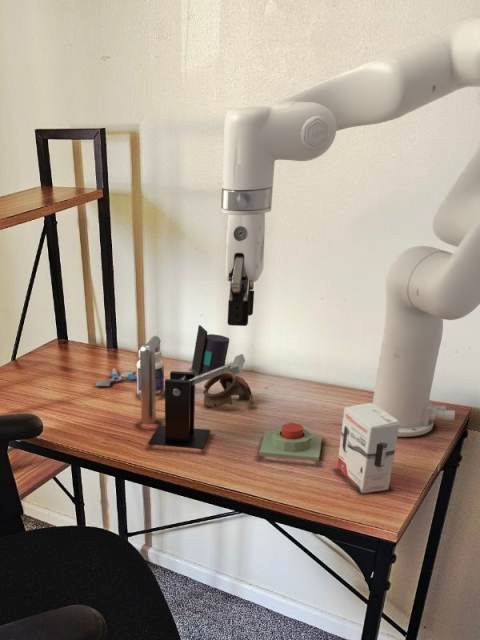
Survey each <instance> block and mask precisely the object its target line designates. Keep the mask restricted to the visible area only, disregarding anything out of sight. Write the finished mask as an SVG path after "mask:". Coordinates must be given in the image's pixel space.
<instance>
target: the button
mask: <svg viewBox="0 0 480 640" xmlns="http://www.w3.org/2000/svg"><path fill="white" fill-rule="evenodd" d="M281 427H282V434H281V436H282V437H283V438H286V439H294V440H295V439H301V438H302V437H303V429H304V426H303V425H301V424H299V423H295V422H287V423H284V424H283V425H281Z"/></svg>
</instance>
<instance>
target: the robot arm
mask: <svg viewBox="0 0 480 640" xmlns="http://www.w3.org/2000/svg"><path fill="white" fill-rule="evenodd" d="M471 87H472V88H478V96H477V98H478V106H479V107H480V16H477V17H469V18H466V19H462V20H459V21H456V22H453V23H451V24H449V25H447V26H445V27H443V28H440V29H438V30H436V31H435V32H433V33H430V34H428V35H426V36H424V37H421V38H420V39H418V40H416V41H414V42H412V43H409V44H408V45H405V46H404V47H400V48H399V49H396V50H394V51H392V52H390V53H388V54H386V55H383V56H382V57H379V58H376V59H374V60H371V61H368V62H366V63H363V64H361V65H359V66H356V67H354V68H352V69H350V70H347V71H345V72H343V73H339V74H337V75H334V76H332V77H329V78H327V79H325V80H322V81H319V82H317V83H315V84H312V85H310V86H307V87H306V88H304V89H302V90H300V91H297V92H295V93H293V94H291V95H289V96H287V97H285V98H283V99H281V100H278V101H277V102H275V103H274V104H273V105H271V106H249V107H248V106H245V107H237V108H233V109H229V111H228V112H227V113H226V115H225V117H224V123H223V144H222V145H223V146H222V147H223V148H222V171H221V172H222V174H221V175H222V176H221V177H222V178H221V202H220V203H221V204H220V205H221V206H220V213H221V214H226V215H227V227H226V243H225V244H226V245H225V280H227V281H228V282H230V284H229V285H230V286H229V294H228V295H229V297H228V302H227V303H228V304H227V305H228V306H227V325H228V326H236V327H246V326H248V325H249V316H250V317H251V316H252V315H253V314H254V304H255V303H254V302H255V301H254V300H255V290H254V287H255V285H254V284H255V283H256V282H257V281H258V280H259V279H260V277H261V275H262V273H263V272H264V266H265V265H264V264H265V263H264V262H265V237H266V235H265V234H266V214H267V213H269V212H272V206H273V190H274V187H273V186H274V175H275V161H277V160H278V161H279V160H280V161H295V162H309V161H312V160H315V159H317V158H320V157H321V156H322V155H324V154H325V153H326V152H327V151H328V150H329V149H330V148H331V147H332V145H333V143H334V141H335V138H336V136H337V132H338V131H342V130H345V129H346V130H347V129H349V128H353V127H354V128H355V127H362V126H370V125H371V126H372V125H377V124H382V123H386V122H390V121H393V120H396V119H400V118H401V117H403V116H406V115H408V114H410V113H412V112H414V111H417V109H420V108H422V107H424V106H426V105H428V104H430V103H433V102H435V101H437V100H439V99H441V98H444V97H445V96H448V95H450V94H452V93H454V92H456V91H459V90H462V89H464V88H471ZM432 218H433V219H432V226H431V227H432V231H433V233H434V235H435V237H436V238H437V239H438V240H440V241H442V242H444V243H446V244H448V245H450V246H453V247H456V248H455V250H454V252H453V253H452V252H450V251H447V250H443V249H440V248H436V247H434V246H428V245H416V246H412V247H409V248H407V249H405V250H403V251H401V252H400V253H399V254H398V255H396V257H395V258H394V259H393V260H392V262H391V263H390V266H389V268H388V270H387V274H386V279H385V301H386V302H385V308H386V309H385V319H384V320H385V321H384V327H383V328H384V329H383V335H382V340H381V347H380V351H379V352H380V353H379V359H378V367H377V372H376V379H375V385H374V391H373V397H372V403H374V404H375V405H376V406H378V407H380V408H381V409H382V410H384V411H385V412H387V413H388V414H389V415H391V416H392V417H394V418H395V419H397V420H398V423H399V430H398V436H397V438H410V437H418V436H424V435H426V434H428V433H429V432H430V431H432V430H433V428H434V425H435V423H434V422H435V420H437V421H439V420H441V421H443V422H444V421H446V422H454V421H455V416H456V410H451V409H447V406H446V405H433V403H431V399H430V397H431V391H432V386H433V383H434V382H433V381H434V378H435V377H434V376H435V372H436V366H437V361H438V357H439V352H440V348H441V343H442V338H443V333H444V332H443V331H444V320H446V321H455V320H459V319H462V318H465V317H466V316H467V315H469V314H471V313H472V312H474V310H476V308H477V307H479V306H480V140H479V142H478V144H477V146H476V149H475V150H474V152H473V154H472V156H471V157H470V159H469V161H468V162H467V164H466V165H465V167H464V168H463V170H462V172H461V173H460V174H459V176H458V178H456V180H455V182H454V184H452V187H450V189H449V191H448V192H447V193H446V195H445V197H444V198H443V200H442V201H441V203H440V204H439V206H438V208H437V209H436V211H435V214H434V216H433V217H432Z"/></svg>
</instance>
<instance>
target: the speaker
mask: <svg viewBox="0 0 480 640" xmlns="http://www.w3.org/2000/svg"><path fill="white" fill-rule="evenodd" d="M229 346H230V338H229V337H228V336H225V335H221V334H212V333H210V334H208V331H207V329H205V328H204V327H203V326H202V325H201V324H198V326H197V332H196V340H195V344H194V352H193V357H192V363H191V372H194V373H195V376H199V375H201V374H204V373H206V372H209V371H212V370H214V369H217V368H219V367H222V366H225V365H226V362H227V361H226V359H227V355H228V350H229Z"/></svg>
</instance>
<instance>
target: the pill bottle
mask: <svg viewBox="0 0 480 640" xmlns="http://www.w3.org/2000/svg"><path fill="white" fill-rule="evenodd" d="M161 357H162V350H161V349H160V352H158V353H155V389H156V397H158V396H161V395H165V366H164V365H165V363H164V361H163V360H162V359H161ZM138 358H139V360H138V361H137V362H136V376H137V377H136V394H138V395H139V396H141V378H140V349H139V350H138Z"/></svg>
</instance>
